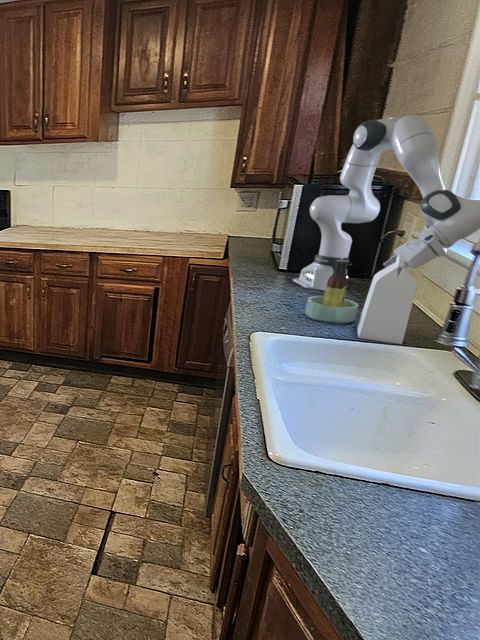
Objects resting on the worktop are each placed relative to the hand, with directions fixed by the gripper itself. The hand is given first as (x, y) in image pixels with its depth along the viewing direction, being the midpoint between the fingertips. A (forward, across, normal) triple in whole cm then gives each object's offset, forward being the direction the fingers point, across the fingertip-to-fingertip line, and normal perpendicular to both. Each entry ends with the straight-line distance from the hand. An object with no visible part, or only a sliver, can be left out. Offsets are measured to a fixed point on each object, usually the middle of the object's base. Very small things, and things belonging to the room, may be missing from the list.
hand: (387, 268), depth 180 cm
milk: (+14, +19, +12) cm, 26 cm away
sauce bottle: (+23, +2, +3) cm, 23 cm away
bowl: (+23, +2, +3) cm, 23 cm away
